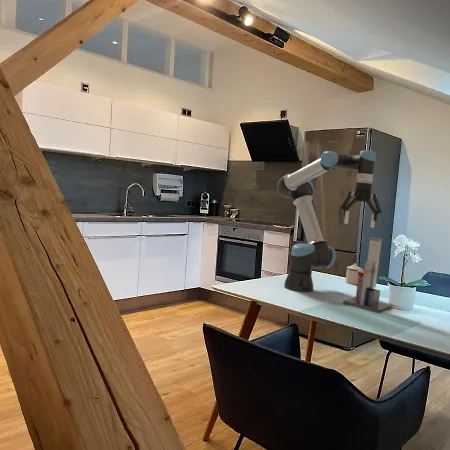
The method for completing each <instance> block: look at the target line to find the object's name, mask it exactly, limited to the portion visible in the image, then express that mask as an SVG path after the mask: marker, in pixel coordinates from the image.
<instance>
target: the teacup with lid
mask: <svg viewBox="0 0 450 450" xmlns="http://www.w3.org/2000/svg"><path fill="white" fill-rule="evenodd" d="M358 270H363V268H361V267H360V266H358V264H357V263H353V264H352V265H350V266H349V265H348V266H347V267H346V274H345V283H346V284H350V285H355V286H357V278H358Z"/></svg>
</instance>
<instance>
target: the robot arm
mask: <svg viewBox="0 0 450 450" xmlns="http://www.w3.org/2000/svg"><path fill="white" fill-rule="evenodd" d="M376 155H377V154H376V152H375V151H373V150H360V152H359V154H357V155H355V154H354V155H353V154H347V153H341V152H337V151H334V150H333V151H332V150H331V151H330V150H328V151H324V152H323V153H322V154H321V156H320V158H318V159H316V160H315V161H313V162H312V163H309V164H307V165H306V166H304V167H302V168H299V170H296V171H295V172H293V173H288V174H285V175H284V176H283V175H282V177H281V178H279V180H278V181H277V184H276V190H277V192H278V194H279V195H280V196H281V197H282V198H285V199H291V201H292V204H293V205H294V206H296V208H297V212H298V215H299V218H300V221H301V224H302V228H303V231H304V232H303V233H304V234H305V238H306V241H307V243H296V244H295V243H294V245H293V246H292V247H291V252H290V259H289V260H290V261H289V271H288V274H287V277H286V279H285V281H284V283H283V284H284V285H283V286H284V288H285V289H288V290H291V291H298V292H313V291H314V282H313V278H312V273H313V269H322V270H324V269H328V268H331V267H332V266H333V265H334V264H335V261H336V257H337V254H336V251H335V249H334V248H333V247H332V246H329V244H328V240H326V239H324V236H323V234H322V230H321V228H320V225H319V221H318V218H317V215H316V212H315V209H314V205H313V203H312V202H313V200H314V195H315V187H314V184H313V183H312V181H311V180H314V179H315V178H317V177H319V176H321V175H323V174H325V173H327V172H329V171H331V170H333V169H340V170H343V171H357V175H356V183H355V191H351V190H350V191H348V195H347V197H346V198H345V200H344V201H343V203H342V205H341V206H340V209H341V210H343V218H344V221H343V222H344V225H348V224H349V216H350V209H351V208H352V207H353V206H354V205H356V203H357V202H363V203H367V205H368V206H369V208H370V210H371V212H373V213H372V214H371V219H370V220H371V221H370V228H372V229H373V228H375V223H376V222H377V221H378V215H379V214H382V213H383V212H382V208H381V205H380V202H379V199H378V193H372V189H373V184H372V183H373V181H374V171H375V165H376V157H377V156H376ZM353 196H354V198H353ZM352 198H353V199H352ZM371 198H372V200H373V202H372V200H371ZM351 199H352V201H351ZM373 203H374V204H373Z"/></svg>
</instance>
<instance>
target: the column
mask: <svg viewBox="0 0 450 450" xmlns="http://www.w3.org/2000/svg"><path fill="white" fill-rule="evenodd" d="M368 239H369V246H368V254H367V261H366V263H370V267H369V275H368V283H367V287H370V288H373V289H375V288H376V286H377V280H378V273H379V265H380V264H379V263H380V256H381V255H380V254H381V249H382V242H383V238H379V237H378V238H377V237H369V238H368Z"/></svg>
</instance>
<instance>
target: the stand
mask: <svg viewBox="0 0 450 450" xmlns="http://www.w3.org/2000/svg"><path fill="white" fill-rule="evenodd" d="M369 267H370V263H367V262H365V263H364V269H363V270H364V277H363V284H362V288H359V289H358V297H356V296H354V297H351V298H347V299H343V300H342V304H343V305H347V306H350V305H351V307H354V306H355V307H354V308H359V309H362V310H363V309H364V310H367V311H371V312H375V313H379V314H382V313H383V312H386V311H388V310H391V309H393V305H392V304H390V303H389V304H388V303H386V302H385V303H384V302H380V295H381V290H380V289H376V288H373V289H372V288H368V287H367V283H368V275H369Z"/></svg>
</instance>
